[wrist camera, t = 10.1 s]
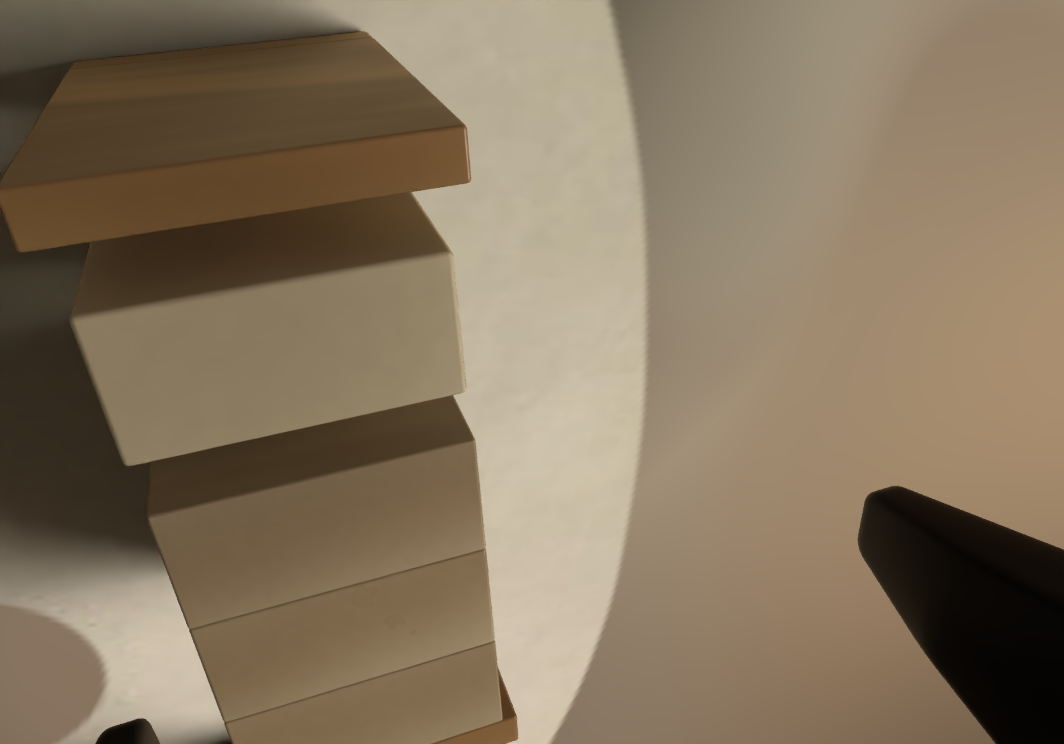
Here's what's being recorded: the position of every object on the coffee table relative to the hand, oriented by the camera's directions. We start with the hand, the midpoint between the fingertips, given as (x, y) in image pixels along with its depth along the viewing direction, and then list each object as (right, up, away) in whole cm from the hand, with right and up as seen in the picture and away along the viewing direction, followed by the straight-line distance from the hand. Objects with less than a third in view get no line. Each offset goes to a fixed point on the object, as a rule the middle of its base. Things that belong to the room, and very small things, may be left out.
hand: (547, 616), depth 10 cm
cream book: (-6, +7, +7) cm, 11 cm away
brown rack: (-6, +4, +10) cm, 12 cm away
